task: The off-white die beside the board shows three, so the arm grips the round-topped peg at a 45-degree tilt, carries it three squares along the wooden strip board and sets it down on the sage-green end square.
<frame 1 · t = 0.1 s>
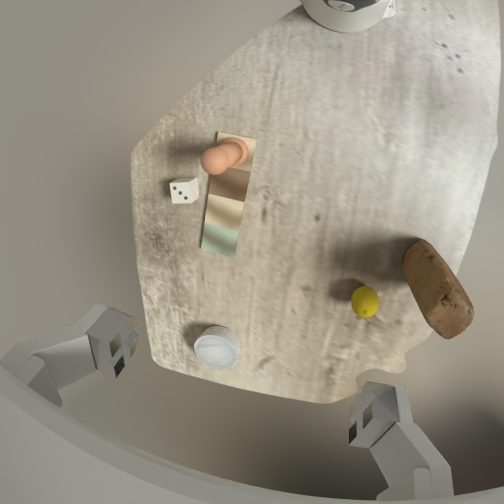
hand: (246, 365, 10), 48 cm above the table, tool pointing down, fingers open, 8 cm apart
ramekin: (221, 338, 75), on the table
lemon: (362, 290, 61), on the table
block: (423, 260, 55), on the table
die: (188, 187, 59), on the table
board: (227, 196, 58), on the table
round-topped peg: (233, 151, 54), point 1 cm above the table, touching board
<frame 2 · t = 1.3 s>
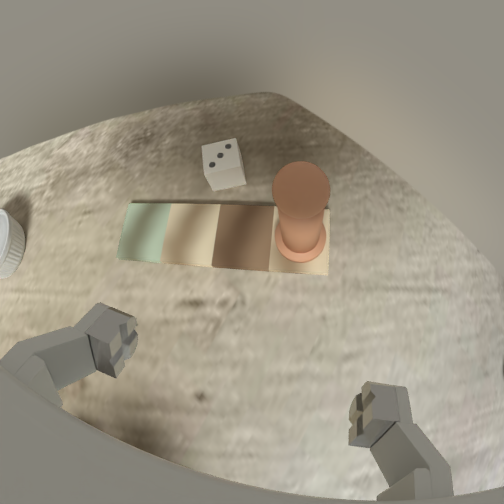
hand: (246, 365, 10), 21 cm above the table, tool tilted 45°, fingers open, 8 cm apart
ramekin: (11, 251, 39), on the table
die: (227, 174, 36), on the table
board: (217, 236, 34), on the table
round-topped peg: (300, 238, 32), point 1 cm above the table, touching board
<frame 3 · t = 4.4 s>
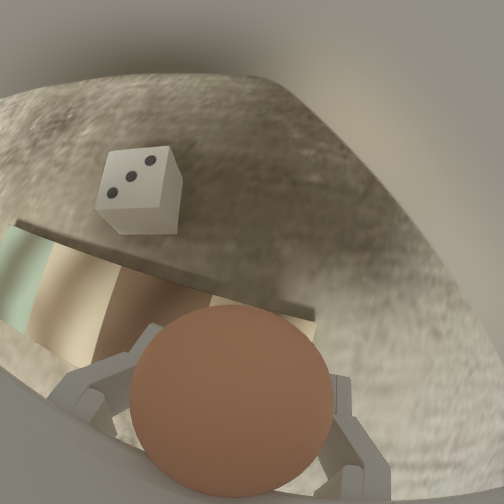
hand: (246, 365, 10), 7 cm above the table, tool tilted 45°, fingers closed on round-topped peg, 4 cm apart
die: (151, 207, 20), on the table
board: (109, 321, 18), on the table
round-topped peg: (247, 370, 16), point 1 cm above the table, touching board, gripper
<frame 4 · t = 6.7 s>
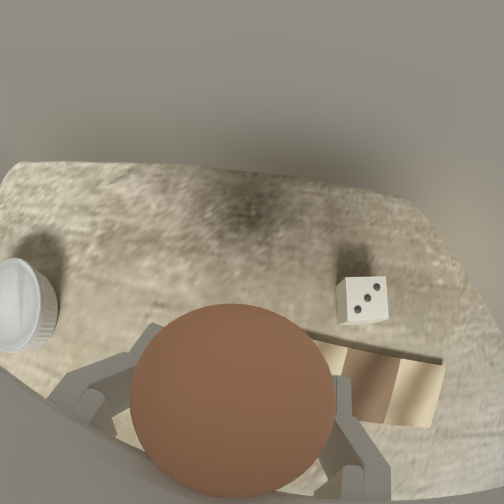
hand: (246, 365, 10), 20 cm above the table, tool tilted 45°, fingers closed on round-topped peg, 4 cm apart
ramekin: (34, 311, 31), on the table
die: (355, 305, 30), on the table
board: (337, 381, 28), on the table
round-topped peg: (247, 369, 16), point 14 cm above the table, touching gripper
when the fingers open (9 cm above the table, at t = 9.2 s): round-topped peg drops 1 cm, resting on board.
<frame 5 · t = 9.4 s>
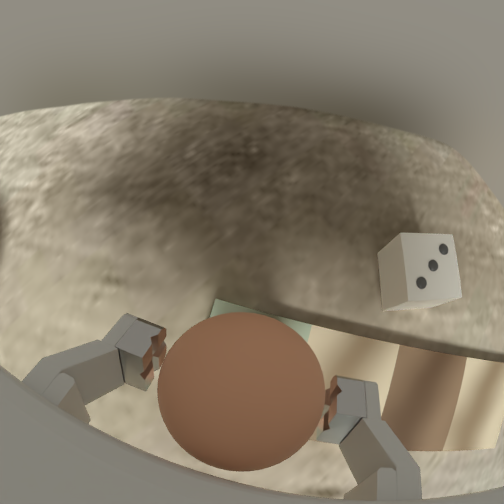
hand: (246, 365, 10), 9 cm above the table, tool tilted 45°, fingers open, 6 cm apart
die: (404, 281, 20), on the table
board: (382, 396, 17), on the table
round-topped peg: (248, 368, 17), point 1 cm above the table, touching board
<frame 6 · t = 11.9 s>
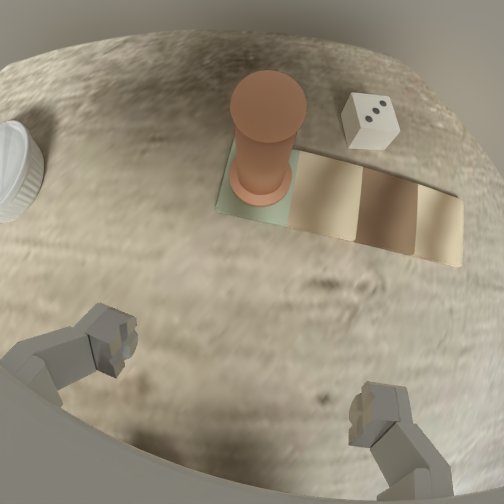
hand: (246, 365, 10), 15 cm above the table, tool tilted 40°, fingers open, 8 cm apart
ramekin: (17, 183, 27), on the table
die: (362, 132, 28), on the table
board: (356, 204, 27), on the table
round-topped peg: (260, 178, 26), point 1 cm above the table, touching board
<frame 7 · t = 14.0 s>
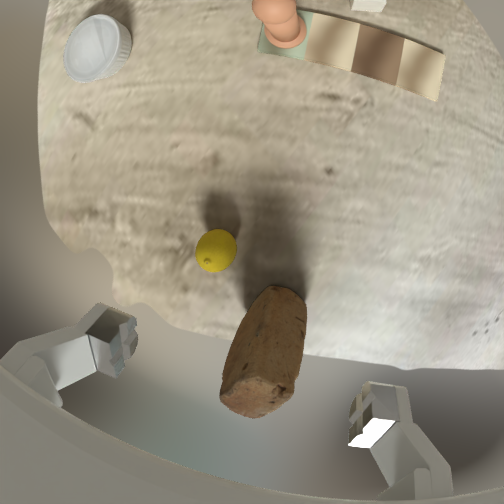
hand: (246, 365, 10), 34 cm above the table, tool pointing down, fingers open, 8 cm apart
ramekin: (110, 50, 37), on the table
lemon: (224, 238, 47), on the table
block: (274, 307, 51), on the table
board: (355, 47, 31), on the table
round-topped peg: (286, 30, 31), point 1 cm above the table, touching board
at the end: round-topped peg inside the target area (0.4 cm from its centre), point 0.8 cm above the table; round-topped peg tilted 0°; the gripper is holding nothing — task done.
